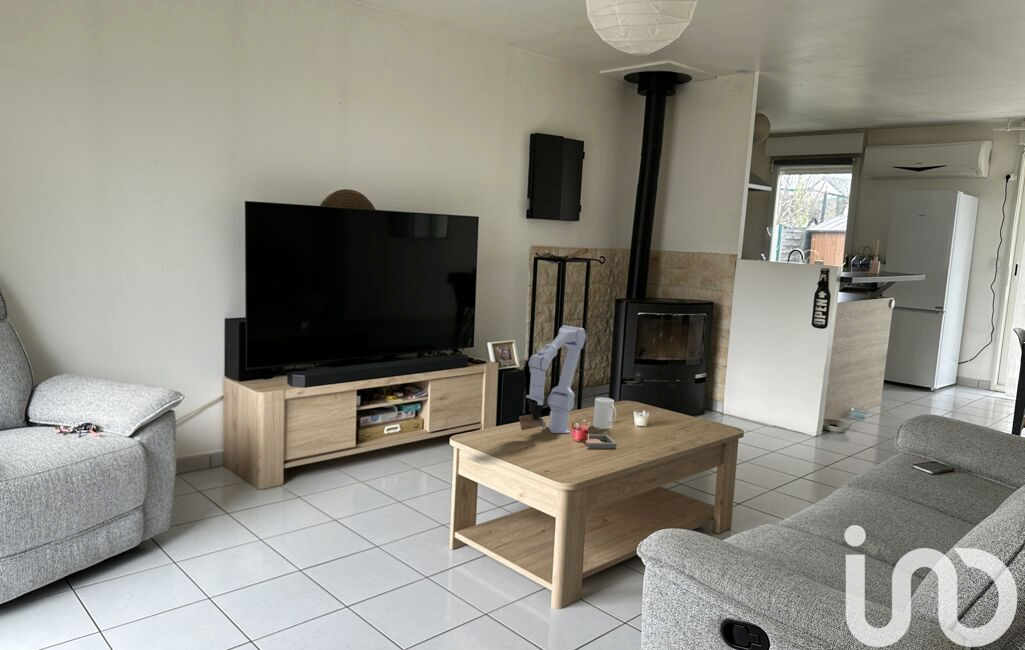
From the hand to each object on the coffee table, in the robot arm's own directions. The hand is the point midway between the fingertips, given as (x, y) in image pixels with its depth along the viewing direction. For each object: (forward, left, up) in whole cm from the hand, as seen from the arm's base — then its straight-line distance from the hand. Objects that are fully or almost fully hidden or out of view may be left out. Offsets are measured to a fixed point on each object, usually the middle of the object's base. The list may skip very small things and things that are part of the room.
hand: (535, 418), depth 282 cm
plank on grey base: (0, -1, -4) cm, 4 cm away
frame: (+5, +25, -8) cm, 27 cm away
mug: (-19, +36, -9) cm, 41 cm away
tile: (+5, +23, -9) cm, 25 cm away
